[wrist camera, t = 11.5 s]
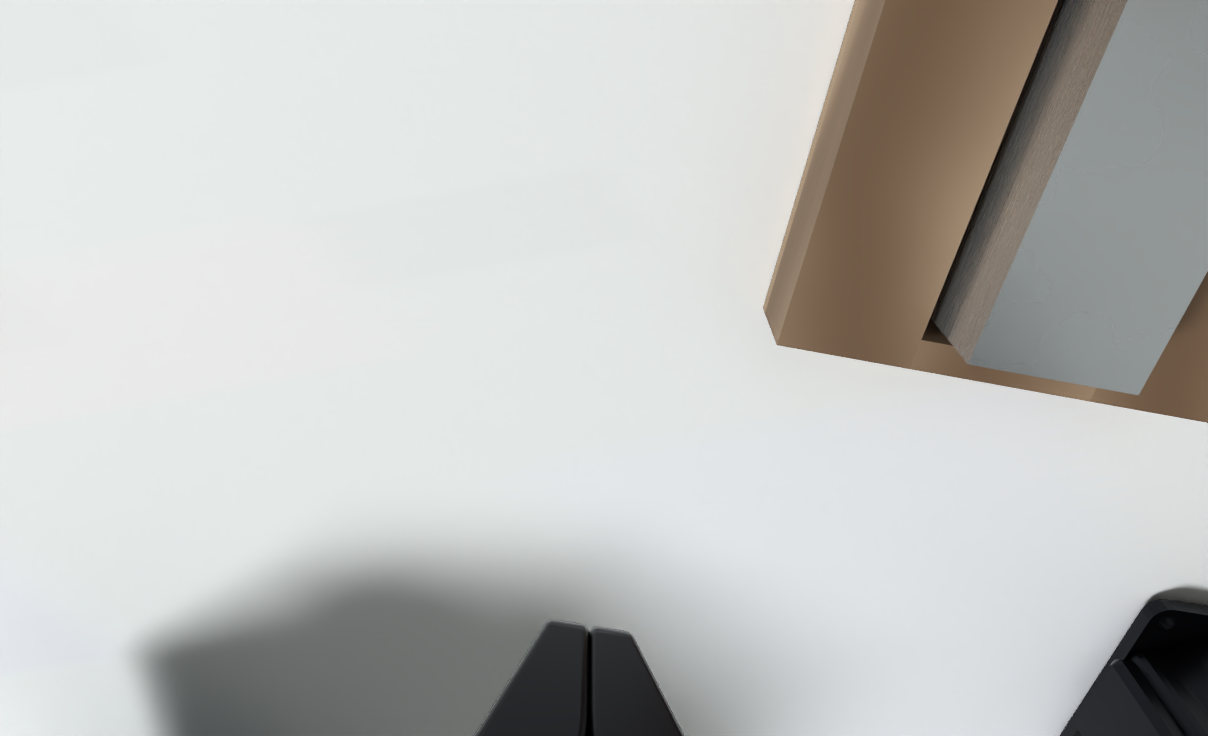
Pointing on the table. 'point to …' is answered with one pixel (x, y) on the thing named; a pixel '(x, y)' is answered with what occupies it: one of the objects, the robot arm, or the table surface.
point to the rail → (1091, 202)
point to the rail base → (926, 197)
